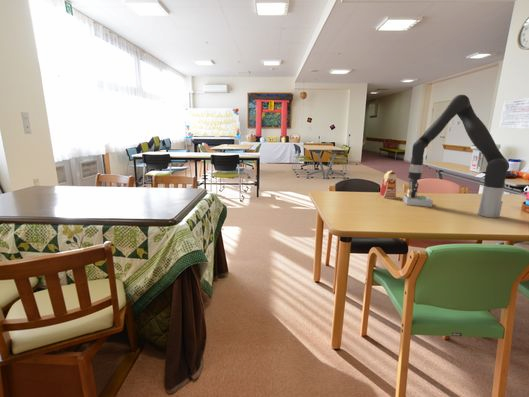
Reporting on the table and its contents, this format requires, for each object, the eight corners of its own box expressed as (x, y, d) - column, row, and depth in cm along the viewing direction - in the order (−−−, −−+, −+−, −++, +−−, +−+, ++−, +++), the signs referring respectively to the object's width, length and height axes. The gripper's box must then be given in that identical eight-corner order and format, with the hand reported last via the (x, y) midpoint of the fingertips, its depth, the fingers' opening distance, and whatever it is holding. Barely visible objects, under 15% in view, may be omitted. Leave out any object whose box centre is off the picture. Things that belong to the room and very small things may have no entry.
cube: (414, 196, 198) (415, 189, 196) (416, 198, 193) (417, 191, 192) (406, 196, 199) (407, 189, 197) (408, 198, 194) (409, 190, 193)
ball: (424, 202, 197) (425, 195, 196) (426, 204, 192) (427, 196, 191) (416, 201, 198) (417, 194, 197) (418, 203, 193) (419, 196, 192)
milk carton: (396, 198, 208) (400, 170, 203) (383, 198, 208) (387, 170, 204) (391, 195, 217) (394, 168, 212) (378, 195, 217) (382, 168, 212)
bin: (426, 201, 200) (426, 196, 199) (431, 206, 188) (432, 200, 187) (402, 200, 204) (402, 194, 203) (406, 204, 191) (407, 198, 190)
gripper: (424, 173, 184) (420, 199, 188) (418, 170, 197) (415, 194, 202) (411, 172, 186) (408, 198, 190) (406, 169, 199) (403, 194, 203)
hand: (411, 196), depth 196 cm, fingers closed on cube, 4 cm apart
